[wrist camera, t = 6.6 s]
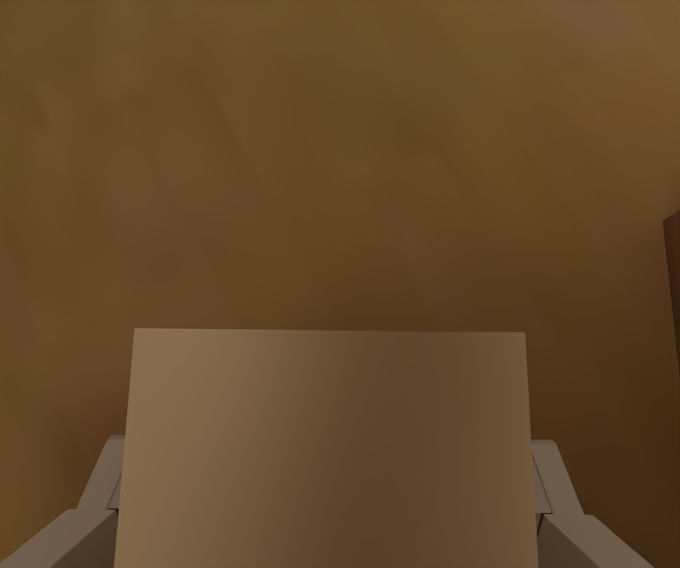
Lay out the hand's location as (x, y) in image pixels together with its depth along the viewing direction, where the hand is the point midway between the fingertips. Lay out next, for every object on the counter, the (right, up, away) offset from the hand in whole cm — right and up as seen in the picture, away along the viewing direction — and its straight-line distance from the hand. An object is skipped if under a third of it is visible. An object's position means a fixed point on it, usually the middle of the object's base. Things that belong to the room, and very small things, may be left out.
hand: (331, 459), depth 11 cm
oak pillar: (0, -2, +5) cm, 5 cm away
